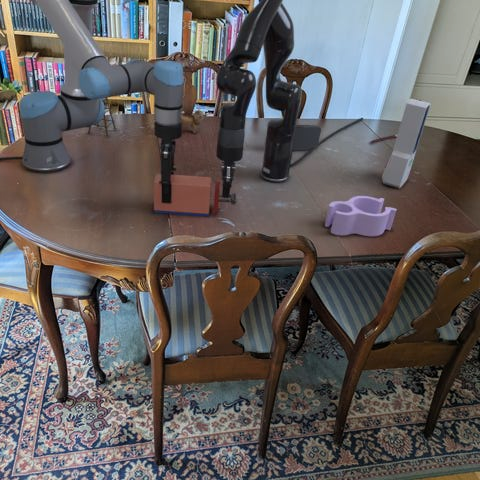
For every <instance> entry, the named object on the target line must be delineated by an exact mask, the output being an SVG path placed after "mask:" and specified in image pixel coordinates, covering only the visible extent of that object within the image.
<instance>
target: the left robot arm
mask: <svg viewBox="0 0 480 480" xmlns="http://www.w3.org/2000/svg"><path fill="white" fill-rule="evenodd" d="M98 1H99V0H30V2H31V3H32V4H33V5H35V6H37V7H38V8H39V9H40V11H41V12H42V14H43V16H44V17H45V18H46V20H47V21H48V23H49V25H50V26H51V28H52V30H53V31H54V33H55V34H56V36H57V37H58V39H59V41H61V43H62V45H63V58H64V59H63V61H64V64H63V65H64V82H63V83H62V84H61V86H60V94H57V93H56V92H54V91H51V90H44V91H42V90H37V91H33V92H30V93H27V94H25V95H24V96H22V97H21V98H20V100H19V103H18V104H19V116H20V119H21V125H22V132H23V137H24V148H23V153H22V156H3V157H0V161H13V160H14V161H15V160H21V161H22V166H23V168H24V169H25V170H27V171H29V172H33V173H39V174H46V173H56V172H61V171H63V170H66V169H67V168H69V167H70V166H71V163H72V159H71V155H70V153H69V151H68V150H67V149H68V148H67V147H66V145H65V143H64V140H63V133H64V132H69V131H74V130H79V129H83V128H89V127H90V126H91V127H92V126H95V125H97V124H98V123H99V124H100V123H101V122H102V121H103V120H102V119H104V111H105V109H104V107H105V103H104V101H103V100H104V99H106V98H108V99H109V98H112V97H119V96H125V95H130V94H131V95H132V94H138V93H147V94H150V95H152V96H153V100H154V101H153V120H154V123H153V126H154V136H155V137H156V138H158V139H160V140H161V142H160V144H159V145H160V146H159V147H160V174H161V181H159V183H161V184H162V203H171V175H175V172H176V171H177V167H175V154H176V146H177V145H176V144H177V141H176V140H178V139H180V138H181V137H182V135H183V124H182V123H181V122H182V116H183V115H185V114H186V113H185V110H183V103H184V100H183V99H184V83H185V79H184V67H183V65H182V64H181V63H180V62H178V61H172V60H158V61H156V62H154V63H151V62H148V61H147V60H145V59H139V58H132V59H130V60H129V61H127V62H126V63H121V64H111V63H110V61H109V59H108V58H107V57H106V55H105V53H104V52H103V50H102V49H101V48H100V46H99V45H98V43H97V41H96V40H95V39H94V36H93V10H94V8H95V7H96V6H97V5H98V4H99V3H98Z"/></svg>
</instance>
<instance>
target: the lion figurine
mask: <svg viewBox="0 0 480 480" xmlns="http://www.w3.org/2000/svg"><path fill="white" fill-rule="evenodd" d="M203 120H204V111H202V110H200V109H197V110H195V111H194V112H193V113H192V114H190V115H189V116H183V115H182V122H181V123H182V126H186V127H189V126H190V132H192V133H193V134H196V133H197V130H196V127H197V126H200V124H201V123H202V122H203Z"/></svg>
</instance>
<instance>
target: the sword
mask: <svg viewBox="0 0 480 480" xmlns="http://www.w3.org/2000/svg"><path fill="white" fill-rule="evenodd" d="M397 135H398V133H397V134H396V133H395V134H392V135H389V136H383V137H379V138H377V139H373V140H371V141H370V145H372V144H374V143H377V142H381V141H384V140H389V139H393V138H397Z"/></svg>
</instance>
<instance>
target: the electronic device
mask: <svg viewBox="0 0 480 480" xmlns="http://www.w3.org/2000/svg"><path fill="white" fill-rule="evenodd" d="M431 105H432V103H431V102H428V101H423V100H418V99H414V98H409V99H408V100H407V101H406V104H405V107H404V110H403V113H402V118H401V120H400V124H399V127H398V131H397V134H398V135H397V137H395V138H396V139H395V142H394V146H393V148H392V153H391V154H390V157H389V160H388V162H387V164H386V166H385V169H384V171H383V173H382V175H381V181H382V183H383V185H387V186H390V187H393V188H396V189H401V188H402V187H403V186H404V184H405V183H406V182H407V180H408V179H409V175H410V173H411V169H412V167H413V162H414V160H415V156H416V152H417V149H418V146H419V143H420V141H421V136H422V134H423V130H424V127H425V124H426V120H427V118H428V115H429V111H430V109H431Z"/></svg>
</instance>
